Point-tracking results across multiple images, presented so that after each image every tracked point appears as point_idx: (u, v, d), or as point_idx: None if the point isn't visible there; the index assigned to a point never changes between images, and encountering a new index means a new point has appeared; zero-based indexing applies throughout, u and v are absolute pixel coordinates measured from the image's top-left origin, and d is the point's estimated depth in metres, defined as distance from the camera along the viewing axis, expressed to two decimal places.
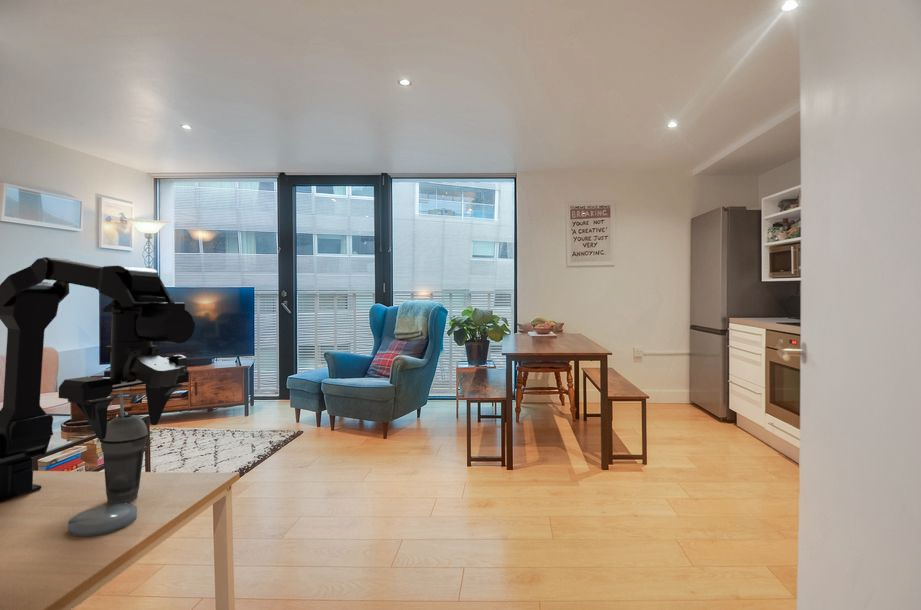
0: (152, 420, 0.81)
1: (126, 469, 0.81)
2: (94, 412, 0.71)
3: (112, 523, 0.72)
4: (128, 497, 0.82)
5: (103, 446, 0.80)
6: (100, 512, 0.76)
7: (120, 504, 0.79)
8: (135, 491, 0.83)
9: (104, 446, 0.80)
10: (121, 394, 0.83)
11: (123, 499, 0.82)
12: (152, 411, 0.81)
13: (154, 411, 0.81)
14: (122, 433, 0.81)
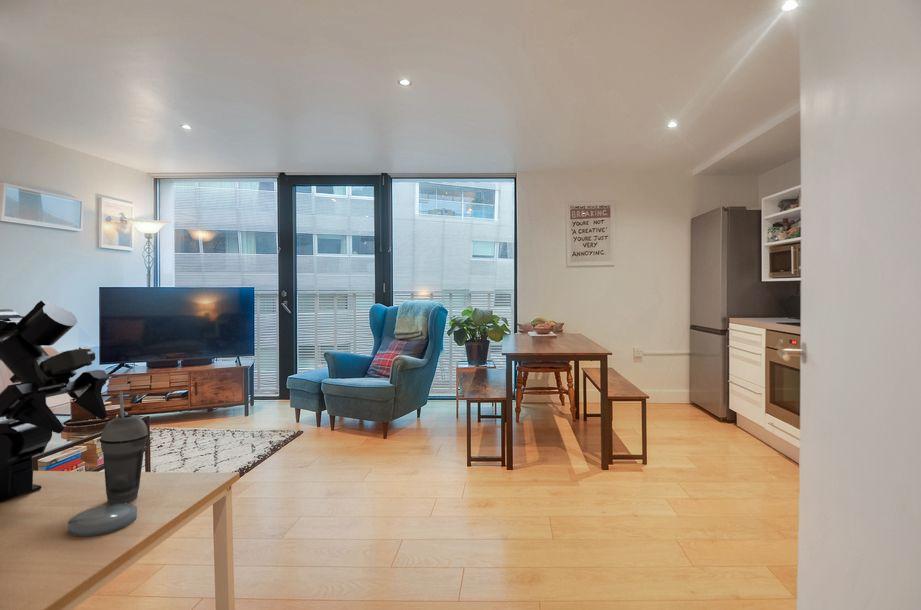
0: (101, 416, 0.88)
1: (126, 469, 0.81)
2: (38, 414, 0.78)
3: (112, 523, 0.72)
4: (128, 497, 0.82)
5: (103, 446, 0.80)
6: (100, 512, 0.76)
7: (120, 504, 0.79)
8: (135, 491, 0.83)
9: (104, 446, 0.80)
10: (121, 394, 0.83)
11: (123, 499, 0.82)
12: (95, 410, 0.88)
13: (97, 408, 0.88)
14: (122, 433, 0.81)
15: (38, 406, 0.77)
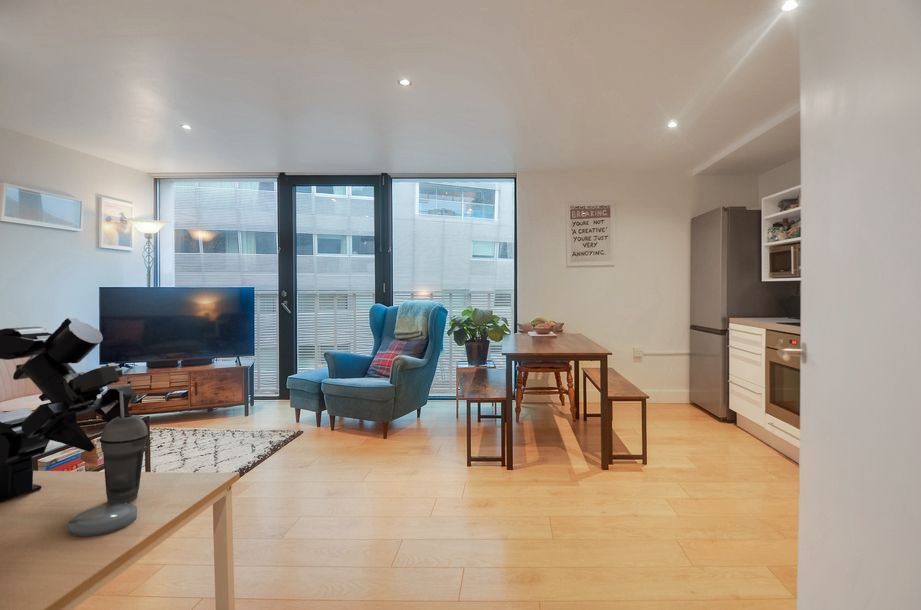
0: None
1: (126, 469, 0.81)
2: (68, 433, 0.78)
3: (112, 523, 0.72)
4: (128, 497, 0.82)
5: (103, 446, 0.80)
6: (100, 512, 0.76)
7: (120, 504, 0.79)
8: (135, 491, 0.83)
9: (104, 446, 0.80)
10: (121, 394, 0.83)
11: (123, 499, 0.82)
12: None
13: None
14: (122, 433, 0.81)
15: (69, 425, 0.77)
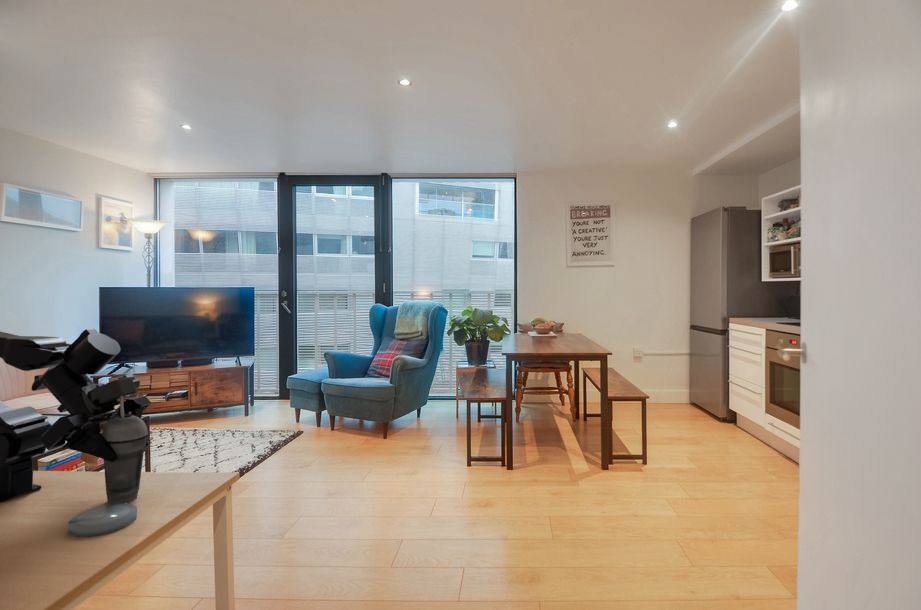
0: None
1: (126, 469, 0.81)
2: (92, 443, 0.79)
3: (112, 523, 0.72)
4: (128, 497, 0.82)
5: None
6: (100, 512, 0.76)
7: (120, 504, 0.79)
8: (135, 491, 0.84)
9: None
10: None
11: (123, 499, 0.82)
12: None
13: None
14: (122, 433, 0.81)
15: (93, 435, 0.78)
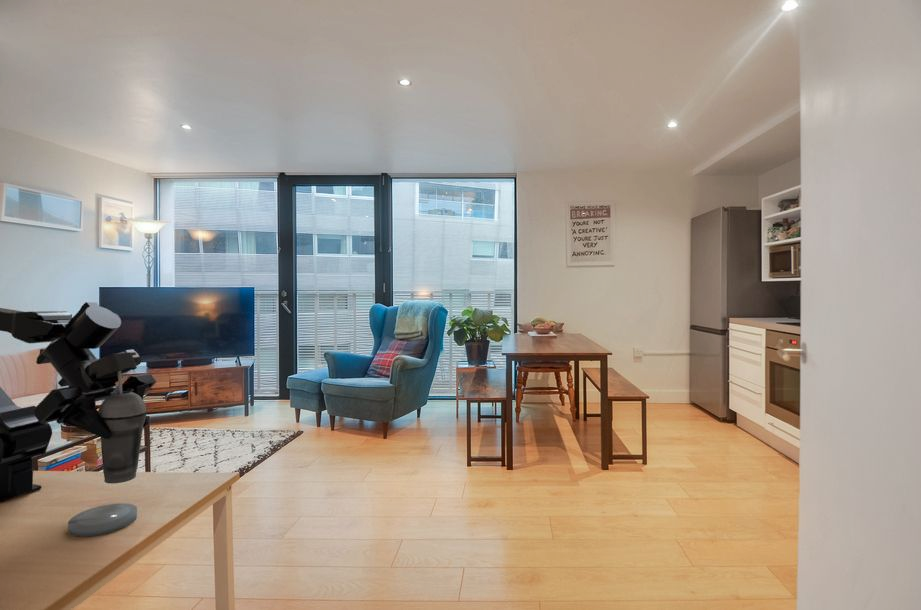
0: None
1: (121, 447, 0.78)
2: (87, 419, 0.76)
3: (112, 523, 0.72)
4: (124, 476, 0.79)
5: None
6: (100, 512, 0.76)
7: (120, 504, 0.79)
8: (132, 471, 0.80)
9: None
10: None
11: (119, 478, 0.79)
12: None
13: None
14: (117, 409, 0.77)
15: (87, 410, 0.75)
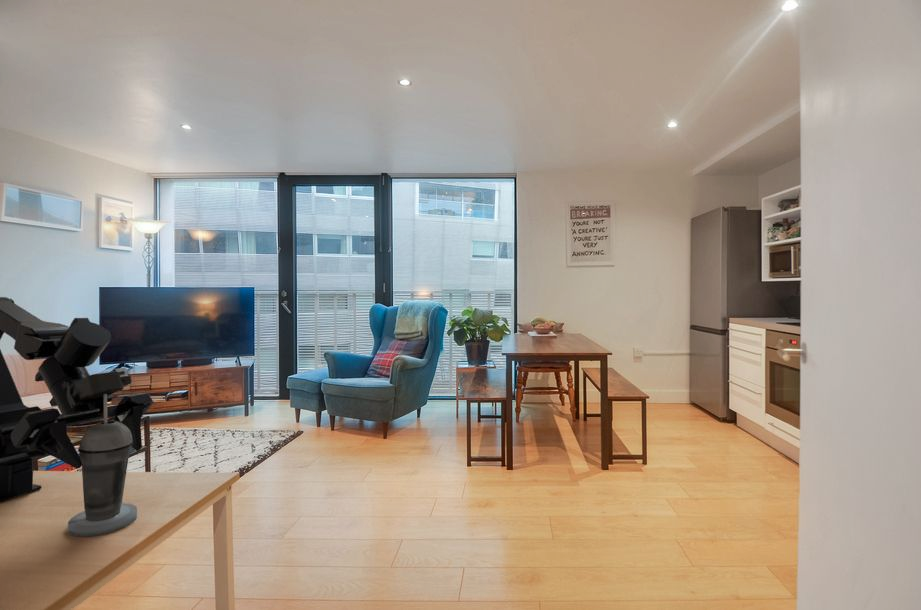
0: (135, 446, 0.79)
1: (100, 483, 0.72)
2: (58, 445, 0.70)
3: (112, 523, 0.72)
4: (104, 514, 0.73)
5: (79, 454, 0.72)
6: None
7: None
8: (114, 508, 0.74)
9: (80, 454, 0.72)
10: (105, 397, 0.75)
11: (98, 516, 0.73)
12: None
13: (133, 437, 0.79)
14: (96, 442, 0.72)
15: (56, 437, 0.69)
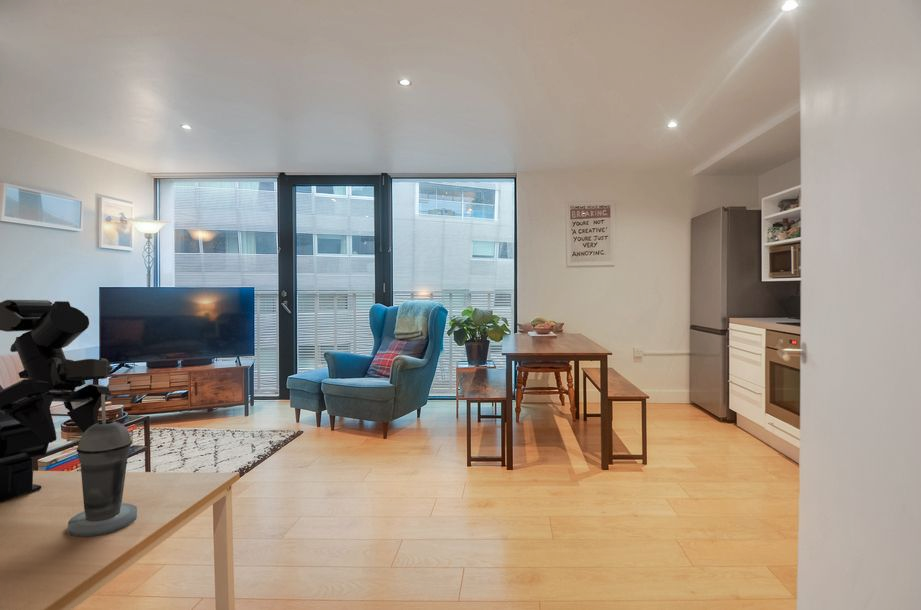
0: None
1: (99, 483, 0.72)
2: (37, 417, 0.73)
3: (112, 523, 0.72)
4: (104, 514, 0.73)
5: (78, 455, 0.72)
6: None
7: None
8: (113, 508, 0.74)
9: (78, 455, 0.72)
10: (103, 397, 0.75)
11: (98, 516, 0.73)
12: (86, 427, 0.83)
13: (89, 425, 0.83)
14: (94, 442, 0.71)
15: (42, 408, 0.73)
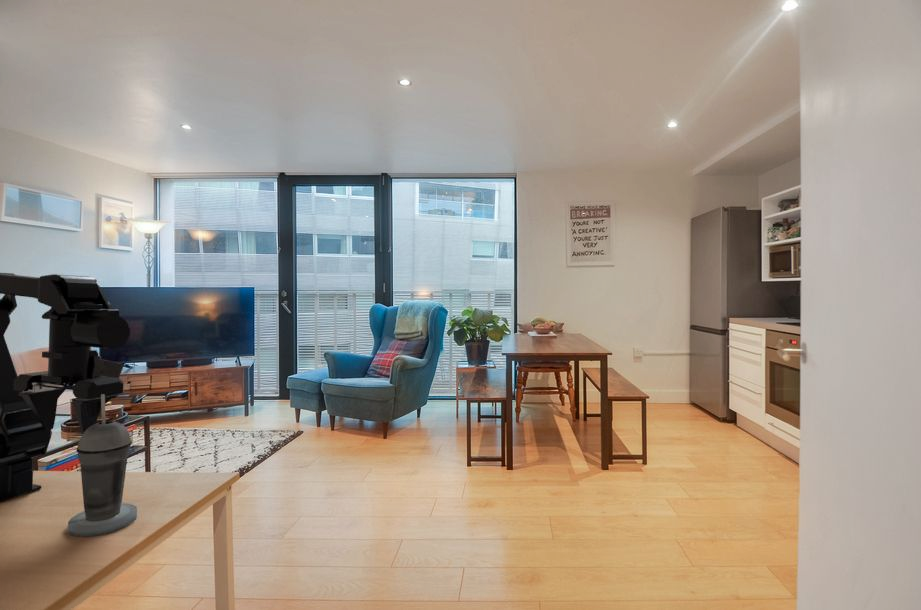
0: (48, 425, 0.81)
1: (99, 483, 0.72)
2: (91, 410, 0.79)
3: (112, 523, 0.72)
4: (103, 514, 0.73)
5: (78, 455, 0.72)
6: None
7: None
8: (113, 508, 0.74)
9: (78, 455, 0.72)
10: (102, 397, 0.75)
11: (98, 516, 0.73)
12: (47, 417, 0.81)
13: (50, 415, 0.82)
14: (94, 442, 0.71)
15: None
